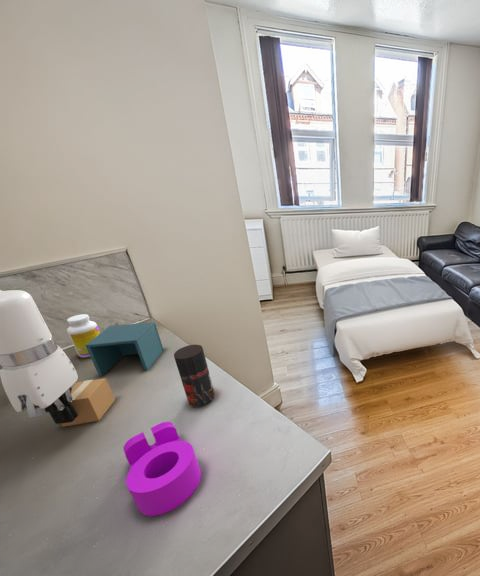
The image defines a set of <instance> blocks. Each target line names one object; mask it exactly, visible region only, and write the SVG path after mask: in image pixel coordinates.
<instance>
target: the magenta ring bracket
mask: <svg viewBox="0 0 480 576" xmlns="http://www.w3.org/2000/svg"><path fill="white" fill-rule="evenodd" d="M150 431H151V433H152V436H153V438H154V441H155V442H154V443H153V444H151V445H150V444H149V442H148V440H147V438H146V435H145V432H144V431H141V432H140V433H138V434H136V435H134V436H132V437H130V438H129V439H127V441H126V442H125V443H124V445H123V453H124V456H125V458H126V461H127V462H128V465H129V471H128V473H127V475H126V480H125V483H126V484H125V485H126V487H127V490H128V491H129V493H130V495H131V497H132V500H133V501H134V503H135V505H136V507H137V509H138V511H139V512H140V513H141V514H142V515H144V516H148V517H156V516H160V515H164V514H167V513H169V512H171V511H173V510H175V509H176V508H178V507H179V506H181V505H182V504H184V503H185V502H186V501H187V500H188V499H189V498H190V497H191V496H192V495H193V494H194V492H195V491H196V489H197V488H198V486H199V484H200V482H201V478H202V471H201V468H200V466H199V462H198V459H197V456H196V453H195V450H194V447H193V446H192V444H191V443H190V442H188V441H186V440H181V438H180V437H179V434H178V430H177V429H176V427H175V425H174V423H173V422H171V421H164V422H159V423H158V424H156V425H154V426H152V427H150Z"/></svg>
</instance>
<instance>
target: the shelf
mask: <svg viewBox="0 0 480 576" xmlns="http://www.w3.org/2000/svg"><path fill="white" fill-rule="evenodd" d="M86 348H87V350H88V352H89V354H90V357H89V358H90V359H91V361H92V363H93V365H94V367H95V370H96V372H97V375H98V377H103V376H104V375H105V374H106V373H107V372H108V371H109V370H110V369H111V368H112V367H113V366H114V365H115V363H117V362H118V361H119V360H120V359H121V357H123V356H131V355H138V356H139V360H140V362H141V364H142V368H143V370H144V371H148V370H149V369H150V368H151V367H152V365H153V364H154V363H155V362H156V361H157V359H158V358H159V356H160V355H161V354H162V353H163V351H164V347H163V342H162V341H161V338H160V335H159V332H158V328H157V325H156V323H155V321H150V322H140V323H129V324H117V325H109V326H108V327H106V328H105V329H104V330H102V331H100V334H99V335H98V336H96V337H95V338H94V339H93V340H91V341H90V342H89V343H88V344H86Z"/></svg>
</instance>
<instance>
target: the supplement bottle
mask: <svg viewBox="0 0 480 576" xmlns="http://www.w3.org/2000/svg"><path fill="white" fill-rule="evenodd" d="M66 321H67V324H68V325H69V326H68V327H67V329H66V332H67V334H68V336H69V338H70V339H69V340H70V342H71V343H72V346H73V348H74V350H75V352H76V355H77V356H78V357H80V358H82V359H83V358H84V359H85V358H91V357H90V354H89V352H88V350H87V348H86V344H88V343H89V342H90V341H91V340H93V339H94V338H95V337H96V336H98V335H99V334H100V333H101V331H100V329H99V326H98V324H97V322H96V321H93V320H90V316H89V314H86V313H83V314H76V315H73V316H70V317H68V318H67V319H66Z"/></svg>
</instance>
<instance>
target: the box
mask: <svg viewBox="0 0 480 576" xmlns="http://www.w3.org/2000/svg"><path fill="white" fill-rule="evenodd" d="M71 395H72V398H73V399H72V401H71V402H70V403H72V405H73V407H74V409H75V410H76V412H77V414H78V416H77V417H76V418H75V420H74V421H73V422H69V423H62V424H60V425H61V427H62V428H64V427H69V426H70V427H71V426H75V425H82V424H87V423H93V422H98V421H99V422H100V420H101V419H102V417H104V415H105V414H106V412H107V411H108V410H109V409H110V407H111V406H112V405H113V404H114V402H115V401H116V398H115V396H114V393H113V391H112V388H111V387H110V384H109V382H108V380H107V378H106V377H105V378H104V377H103V378H98V379H87V380H83V381H77V382H76V384H75V386H74V387H73V388H72V391H71ZM51 405H52V404H51Z"/></svg>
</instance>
